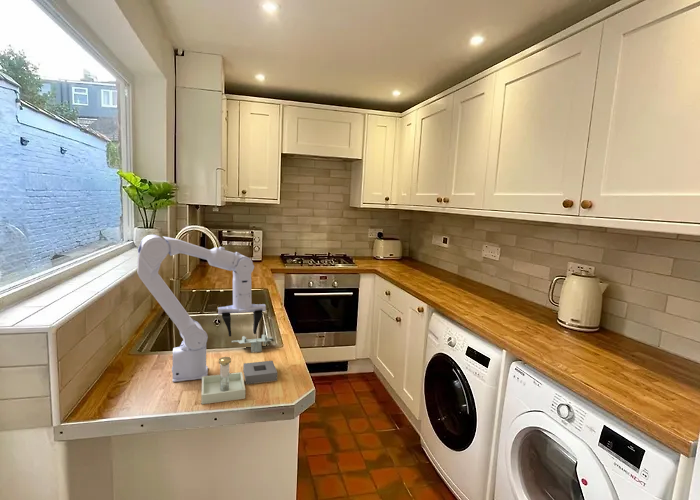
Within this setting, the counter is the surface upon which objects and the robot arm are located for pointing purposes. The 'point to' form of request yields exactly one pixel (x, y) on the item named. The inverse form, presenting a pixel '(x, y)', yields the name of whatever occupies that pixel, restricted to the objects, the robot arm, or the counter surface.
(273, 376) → the pin block
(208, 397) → the tray
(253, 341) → the metal bracket
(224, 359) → the steel pin
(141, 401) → the counter surface
